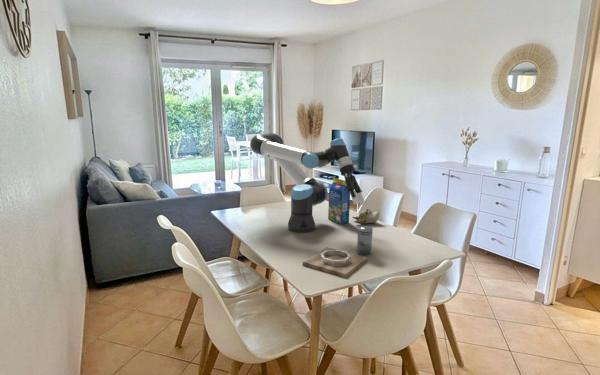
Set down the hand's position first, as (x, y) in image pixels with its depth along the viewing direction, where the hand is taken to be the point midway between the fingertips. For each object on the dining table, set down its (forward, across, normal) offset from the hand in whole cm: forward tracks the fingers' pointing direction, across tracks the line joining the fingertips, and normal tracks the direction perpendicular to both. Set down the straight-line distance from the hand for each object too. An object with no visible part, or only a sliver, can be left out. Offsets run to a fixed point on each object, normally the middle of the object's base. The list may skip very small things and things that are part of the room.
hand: (360, 204), depth 184 cm
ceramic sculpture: (+9, +25, +6) cm, 27 cm away
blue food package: (+2, +22, +20) cm, 30 cm away
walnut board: (+23, -35, +12) cm, 43 cm away
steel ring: (+22, -35, +11) cm, 43 cm away
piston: (+24, -20, +2) cm, 31 cm away
